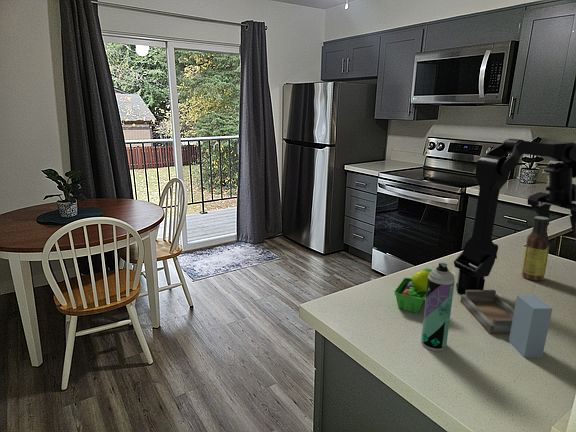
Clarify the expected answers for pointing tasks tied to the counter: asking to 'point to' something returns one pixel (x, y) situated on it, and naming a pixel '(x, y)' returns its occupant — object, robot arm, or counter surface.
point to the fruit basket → (412, 291)
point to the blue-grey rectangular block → (530, 326)
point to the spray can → (437, 308)
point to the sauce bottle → (536, 250)
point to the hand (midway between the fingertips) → (560, 229)
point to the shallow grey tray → (489, 310)
